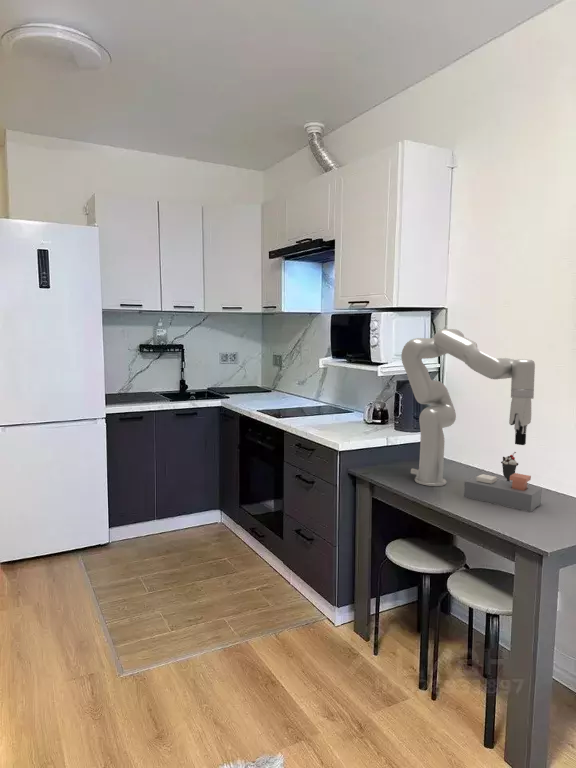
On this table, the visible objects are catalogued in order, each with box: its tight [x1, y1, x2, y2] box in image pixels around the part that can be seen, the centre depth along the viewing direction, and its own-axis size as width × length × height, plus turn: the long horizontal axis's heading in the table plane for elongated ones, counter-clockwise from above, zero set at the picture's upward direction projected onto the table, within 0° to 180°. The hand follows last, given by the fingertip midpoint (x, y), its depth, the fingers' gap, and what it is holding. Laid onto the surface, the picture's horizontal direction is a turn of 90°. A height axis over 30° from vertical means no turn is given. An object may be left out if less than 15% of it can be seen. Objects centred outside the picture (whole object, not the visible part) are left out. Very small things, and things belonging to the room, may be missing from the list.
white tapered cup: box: [476, 473, 498, 484], centre depth 202 cm, size 6×6×8 cm
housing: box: [463, 474, 543, 513], centre depth 198 cm, size 24×12×6 cm, turn 49°
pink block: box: [510, 472, 532, 491], centre depth 194 cm, size 6×6×8 cm
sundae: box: [500, 451, 519, 482], centre depth 215 cm, size 7×7×15 cm
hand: (520, 444), depth 193 cm, fingers closed
